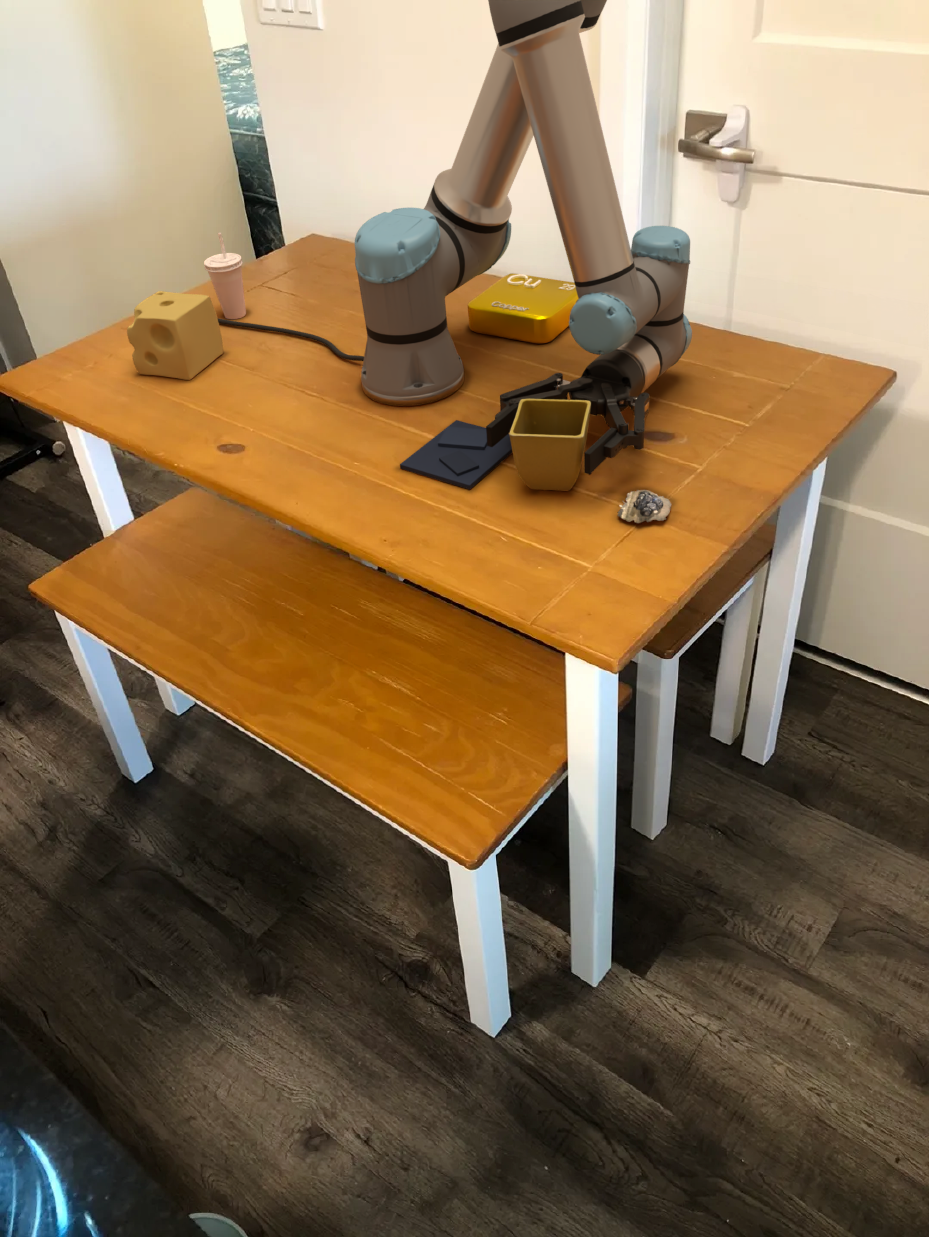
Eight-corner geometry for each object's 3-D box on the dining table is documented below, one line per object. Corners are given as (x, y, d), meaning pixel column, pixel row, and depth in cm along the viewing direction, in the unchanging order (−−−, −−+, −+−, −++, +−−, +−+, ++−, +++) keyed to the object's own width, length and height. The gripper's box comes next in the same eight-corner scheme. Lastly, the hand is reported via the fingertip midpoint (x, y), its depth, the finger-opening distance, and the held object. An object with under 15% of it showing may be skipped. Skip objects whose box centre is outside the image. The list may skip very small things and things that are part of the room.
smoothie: (250, 321, 169) (231, 239, 160) (213, 323, 169) (192, 241, 160) (256, 306, 174) (238, 225, 165) (221, 308, 174) (201, 228, 165)
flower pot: (583, 502, 119) (583, 436, 113) (512, 498, 121) (508, 434, 115) (591, 463, 125) (591, 400, 120) (523, 461, 127) (520, 398, 122)
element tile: (464, 331, 159) (462, 302, 156) (510, 296, 169) (509, 268, 165) (546, 346, 153) (545, 317, 149) (589, 309, 162) (589, 280, 159)
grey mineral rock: (620, 530, 114) (620, 516, 113) (609, 492, 120) (609, 479, 119) (678, 525, 114) (679, 511, 113) (664, 487, 120) (665, 474, 119)
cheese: (136, 375, 156) (117, 314, 150) (175, 346, 163) (159, 287, 157) (191, 382, 153) (174, 320, 146) (229, 352, 160) (214, 292, 154)
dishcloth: (400, 468, 128) (399, 460, 127) (456, 424, 136) (455, 416, 135) (470, 490, 123) (469, 481, 122) (524, 442, 131) (524, 434, 130)
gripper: (706, 421, 127) (630, 503, 114) (539, 382, 138) (453, 452, 125) (711, 367, 122) (632, 446, 109) (538, 331, 134) (448, 399, 121)
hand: (536, 450), depth 117 cm, fingers open, 13 cm apart
